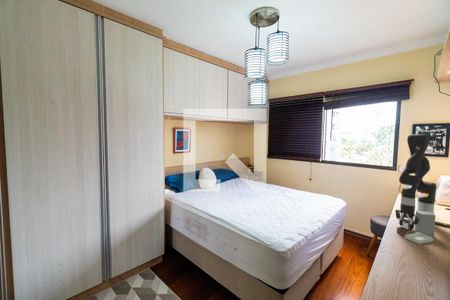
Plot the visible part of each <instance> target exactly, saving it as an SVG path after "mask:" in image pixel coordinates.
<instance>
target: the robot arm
mask: <svg viewBox="0 0 450 300" xmlns="http://www.w3.org/2000/svg"><path fill="white" fill-rule="evenodd" d="M406 141H407V142H406V143H407V146H408V149H409V153H410V157H409V158H408V159H407V161H406V164H405V168H404V170H403V171H402V173H401V174H400V176H399V179H398V182H399V183H400V184H401V185H405V186H411V187H405V188H404V187H403V188H402V189H401V196H400V206H399V208H400V209H395V217H396V219H397V220H398V224H399V227H401V226H403V221H402V219H408V220H409V221H410V229H411V230H412V229H413V230H415V224H418V222H419V219H420V216H416V211H424V212H431V213H432V214H434V215H435V202H436V195H437V194H436V193H437V184H436V183H435V182H430V181H424V180H423V178H424V177H425V176H426V175H427V174H428V173H429V171H430V170H431V165H430V160H429V159H428V158H427V156H425V154H426V152H427V149H428V146H429V143H430V136H429V135H428V134H425V133H420V134H418V133H415V134H408V136H407V138H406ZM416 193H421V194H427V196H419V197H418V199H417V210H416Z"/></svg>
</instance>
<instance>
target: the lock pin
mask: <svg viewBox="0 0 450 300" xmlns="http://www.w3.org/2000/svg"><path fill="white" fill-rule="evenodd" d="M402 221H403V226H402V229H405V230H407V231H409V230H410V221H409V220H408V219H407V218H404V219H402Z"/></svg>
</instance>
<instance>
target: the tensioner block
mask: <svg viewBox="0 0 450 300" xmlns="http://www.w3.org/2000/svg"><path fill="white" fill-rule="evenodd" d="M396 233H397V234H399V235H402V236H404V237H405V235H406V234H412V233H416V230H415V229H412V230H411V229H410V230H409V231H407V230H405V229H402V226H397V227H396Z"/></svg>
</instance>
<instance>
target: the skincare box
mask: <svg viewBox="0 0 450 300" xmlns="http://www.w3.org/2000/svg"><path fill="white" fill-rule="evenodd" d="M415 215H416V216H420V219H419V222H418V224H415V225H414V230H416V232H415V233H418V232H419V233H422V234H424V235H427V236H430V237H432V238H435V225H436V216H437V215H436V214H435V213H434V214H432V213H431V212H424V211H417V210H415Z"/></svg>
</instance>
